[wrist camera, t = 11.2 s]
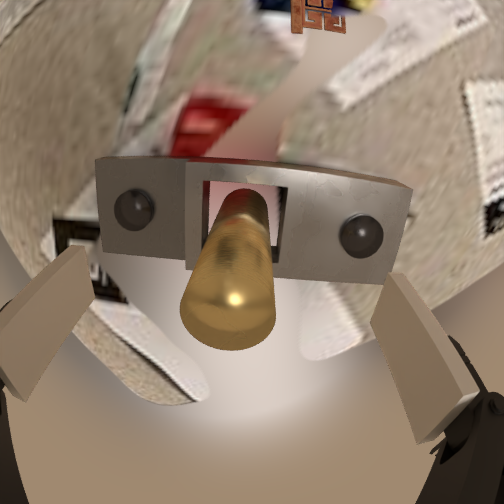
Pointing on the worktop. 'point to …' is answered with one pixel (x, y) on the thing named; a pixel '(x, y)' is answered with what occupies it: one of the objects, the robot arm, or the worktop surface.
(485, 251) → the worktop surface
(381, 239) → the slotted metal plate
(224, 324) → the brass pin
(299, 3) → the key
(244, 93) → the worktop surface
